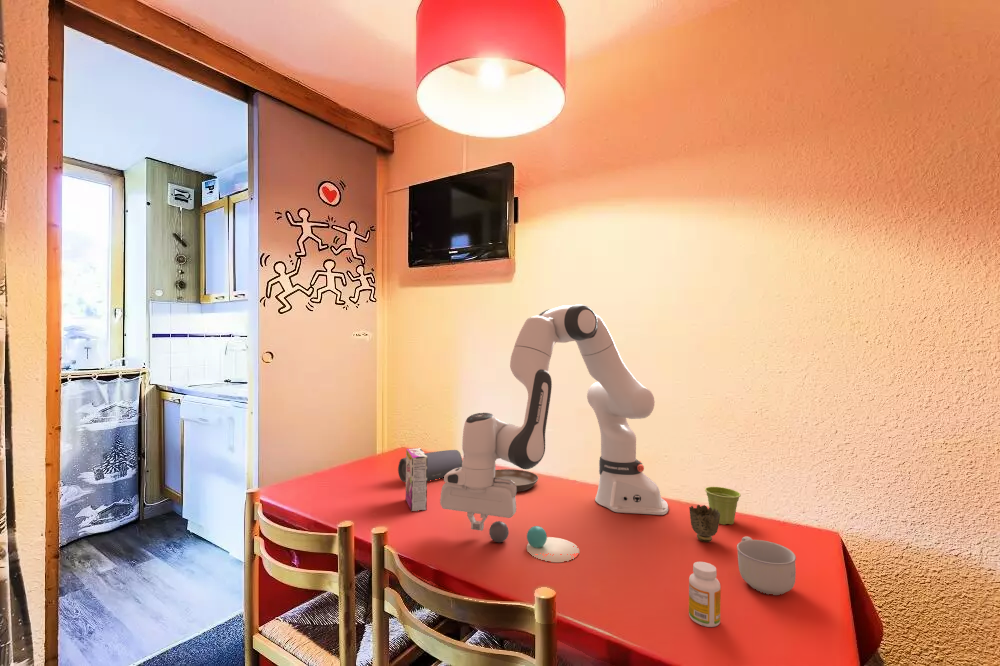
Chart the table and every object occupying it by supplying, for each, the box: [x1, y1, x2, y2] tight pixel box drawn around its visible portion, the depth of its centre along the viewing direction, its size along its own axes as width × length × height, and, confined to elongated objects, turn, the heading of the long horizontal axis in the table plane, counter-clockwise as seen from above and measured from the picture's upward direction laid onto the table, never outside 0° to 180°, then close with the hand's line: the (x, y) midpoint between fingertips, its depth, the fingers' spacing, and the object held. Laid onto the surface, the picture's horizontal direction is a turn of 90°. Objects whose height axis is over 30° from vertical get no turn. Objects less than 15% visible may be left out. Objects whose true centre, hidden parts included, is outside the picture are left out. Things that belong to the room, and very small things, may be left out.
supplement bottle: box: [688, 561, 722, 628], centre depth 83 cm, size 5×5×10 cm
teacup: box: [736, 536, 797, 596], centre depth 96 cm, size 14×11×8 cm
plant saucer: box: [495, 468, 539, 493], centre depth 159 cm, size 21×21×3 cm
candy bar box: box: [405, 447, 428, 512], centre depth 137 cm, size 11×5×16 cm, turn 22°
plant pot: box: [704, 486, 741, 526], centre depth 130 cm, size 9×9×9 cm
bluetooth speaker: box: [397, 449, 463, 483], centre depth 163 cm, size 23×9×10 cm, turn 130°
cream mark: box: [526, 536, 580, 563], centre depth 109 cm, size 13×13×1 cm
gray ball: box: [488, 520, 510, 543], centre depth 113 cm, size 5×5×5 cm
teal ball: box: [526, 525, 548, 548], centre depth 111 cm, size 5×5×5 cm
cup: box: [688, 504, 720, 543], centre depth 117 cm, size 8×7×8 cm
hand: (477, 529), depth 115 cm, fingers closed
